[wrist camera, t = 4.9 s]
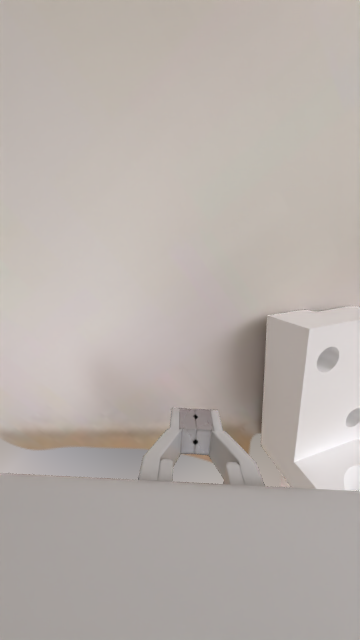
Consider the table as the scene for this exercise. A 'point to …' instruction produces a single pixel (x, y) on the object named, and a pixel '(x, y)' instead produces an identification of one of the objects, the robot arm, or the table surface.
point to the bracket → (313, 397)
